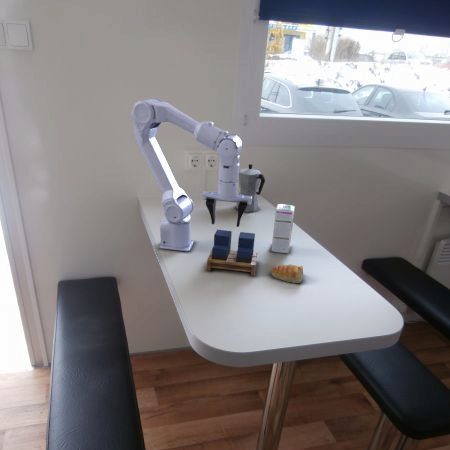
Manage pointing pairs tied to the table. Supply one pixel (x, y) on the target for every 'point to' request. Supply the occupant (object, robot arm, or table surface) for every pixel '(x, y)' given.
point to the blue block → (221, 245)
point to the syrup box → (283, 228)
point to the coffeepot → (250, 186)
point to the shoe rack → (230, 261)
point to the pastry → (288, 273)
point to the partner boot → (245, 247)
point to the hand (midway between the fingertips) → (225, 224)
